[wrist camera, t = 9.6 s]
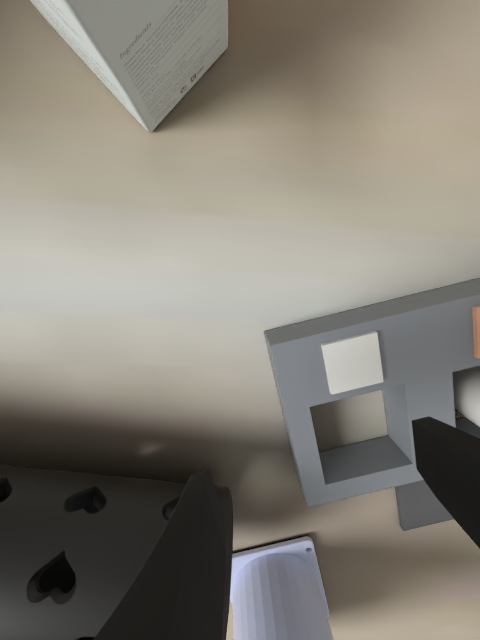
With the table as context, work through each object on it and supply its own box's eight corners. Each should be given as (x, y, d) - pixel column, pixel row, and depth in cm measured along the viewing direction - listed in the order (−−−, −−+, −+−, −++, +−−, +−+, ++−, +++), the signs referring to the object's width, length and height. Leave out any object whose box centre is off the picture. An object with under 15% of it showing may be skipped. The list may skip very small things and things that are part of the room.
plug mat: (481, 505, 24) (486, 511, 24) (400, 525, 24) (403, 530, 24) (478, 435, 22) (484, 439, 22) (391, 456, 22) (394, 461, 22)
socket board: (522, 419, 22) (572, 448, 19) (296, 474, 22) (308, 511, 19) (523, 267, 19) (582, 270, 16) (263, 331, 20) (271, 347, 16)
